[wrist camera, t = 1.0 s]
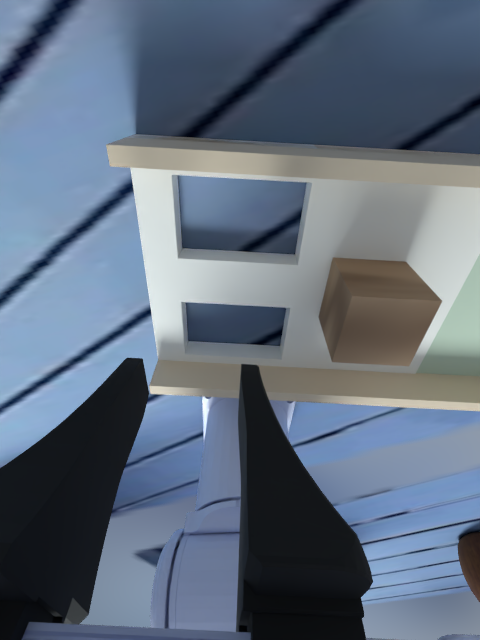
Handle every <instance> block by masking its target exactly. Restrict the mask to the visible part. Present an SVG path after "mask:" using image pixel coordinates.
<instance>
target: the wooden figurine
mask: <svg viewBox="0 0 480 640" xmlns="http://www.w3.org/2000/svg"><path fill="white" fill-rule="evenodd" d="M458 555H459V561H460V565H461V568H462V572H463V574H464V577H465V579H466V581H467V583H468V585H469V587H470V589H471V591H472V592H473V594H474V595H475V596H476V598H477V599H478V600H479V602H480V532H474V533H470V534H467V535H465V536H463V537H462V538H461V539H460V540H459V543H458Z"/></svg>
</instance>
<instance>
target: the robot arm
mask: <svg viewBox="0 0 480 640" xmlns="http://www.w3.org/2000/svg"><path fill="white" fill-rule="evenodd" d="M148 395H149V391H148V386H147V380H146V375H145V369H144V364H143V359H140V358H126V359H125V360H124V361H123V362H122V363H121V364H120V366H119V367H118V368H117V369H116V370H115V371H114V372H113V373H112V374H111V375H110V376H109V377H108V378H107V380H106V381H105V382H104V383H103V384H102V385H101V386H100V387H99V388H98V389H97V390H96V391H95V392H94V393H93V394H92V395H91V396H90V397H89V398H88V399H87V400H86V401H85V402H84V403H83V404H82V405H80V406H79V407H78V408H77V409H76V410H75V411H74V412H73V413H72V414H71V415H70V416H69V417H67V418H66V419H65V420H64V421H63V422H62V423H60V424H59V425H58V426H57V427H56V428H55V429H53V430H52V431H51V432H50V433H48V434H47V435H46V436H45V437H43V438H42V439H41V440H39V441H38V442H37V443H35V444H34V445H33V446H31V447H30V448H29V449H27V450H26V451H25V452H23V453H22V454H20V455H19V456H18V457H16V458H15V459H13V460H12V461H11V462H9V463H8V464H6V465H5V466H3V467H1V468H0V640H394V639H375V638H374V639H373V638H366V637H365V632H364V627H363V623H362V618H363V617H364V611H363V606H362V601H361V597H362V596H363V595H364V594H365V593H366V592H367V591H368V590H369V588H370V586H371V584H372V583H373V580H372V575H371V571H370V567H369V564H368V561H367V558H366V556H365V553H364V551H363V548H362V546H361V543H360V541H359V539H358V537H357V535H356V533H355V532H354V531H353V530H352V529H351V527H350V526H349V525H348V524H347V523H346V522H345V520H344V519H343V518H342V517H341V515H340V514H339V513H338V512H337V511H336V509H335V508H334V507H333V506H332V504H331V503H330V502H329V500H328V499H327V498H326V496H325V495H324V494H323V493H322V491H321V490H320V488H319V487H318V486H317V484H316V483H315V481H314V480H313V478H312V477H311V476H310V474H309V473H308V471H307V470H306V468H305V467H304V465H303V464H302V462H301V461H300V459H299V458H298V456H297V454H296V453H295V451H294V449H293V448H292V446H291V444H290V442H289V434H288V432H289V428H290V424H291V420H292V415H293V411H294V407H295V402H296V401H278V400H269V399H268V396H267V393H266V390H265V388H264V385H263V381H262V378H261V374H260V369H259V367H258V366H257V365H252V364H241V375H240V390H239V398H222V397H203V396H202V405H203V434H204V447H203V454H202V462H201V470H200V477H199V485H198V492H197V500H196V508H195V511H194V512H188V513H187V514H186V521H185V527H184V529H178V530H176V531H175V532H174V533H173V535H172V536H171V537H170V539H169V541H168V542H167V543H166V545H165V546H164V548H163V550H162V553H161V555H160V558H159V561H158V564H157V568H156V573H155V578H154V583H153V589H152V598H151V628H145V627H124V626H103V625H102V626H101V625H82V624H80V623H81V622H82V621H83V620H84V619H85V618H86V616H88V614H89V609H90V604H91V599H92V594H93V590H94V585H95V580H96V576H97V571H98V566H99V562H100V557H101V553H102V549H103V544H104V540H105V536H106V532H107V528H108V524H109V520H110V516H111V512H112V508H113V505H114V501H115V497H116V493H117V490H118V486H119V482H120V479H121V476H122V473H123V470H124V468H125V465H126V462H127V460H128V457H129V454H130V452H131V449H132V446H133V444H134V441H135V438H136V436H137V433H138V430H139V428H140V425H141V422H142V419H143V416H144V412H145V408H146V404H147V400H148ZM438 640H480V635H465V634H452V635H446V636H442V637H440V638H439V639H438Z"/></svg>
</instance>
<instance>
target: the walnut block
mask: <svg viewBox="0 0 480 640" xmlns="http://www.w3.org/2000/svg"><path fill="white" fill-rule="evenodd" d="M441 303H442V300H441V299H440V298H439V297H438V296H437V295H436V294H435V293H434V291H433V290H432V289H431V288H430V287H429V286H428V285H427V284H426V283H425V282H424V281H423V280H422V278H421V277H420V276H419V275H418V274H417V273H416V272H415V271H414V270H413V269H412V268H411V267H410V266H409V264H408V263H407V262H404V261H386V260H368V259H351V258H333V259H332V263H331V267H330V271H329V275H328V279H327V284H326V288H325V292H324V296H323V300H322V304H321V308H320V313H319V317H318V318H319V321H320V324H321V327H322V331H323V334H324V337H325V341H326V344H327V347H328V351H329V354H330V357H331V360H332V362H338V363H356V364H375V365H393V366H410V364H411V362H412V360H413V358H414V356H415V354H416V352H417V350H418V348H419V346H420V344H421V342H422V340H423V338H424V336H425V334H426V332H427V330H428V328H429V326H430V325H431V323H432V321H433V319H434V317H435V315H436V313H437V311H438V309H439V307H440V305H441Z"/></svg>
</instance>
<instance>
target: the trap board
mask: <svg viewBox="0 0 480 640" xmlns="http://www.w3.org/2000/svg"><path fill="white" fill-rule="evenodd" d="M106 147H107V152H108V158H109V163H110V166H111V167H128V168H131V175H132V182H133V189H134V195H135V202H136V209H137V216H138V223H139V230H140V237H141V244H142V251H143V258H144V265H145V272H146V279H147V286H148V292H149V299H150V306H151V313H152V320H153V327H154V334H155V341H156V348H157V355H158V362H157V365H156V368H155V371H154V374H153V377H152V380H151V382H150V385H149V387H150V392H151V394H165V395H184V396H203V397H222V398H239V390H240V375H241V364H252V365H257V366H258V367H259V369H260V374H261V378H262V381H263V385H264V388H265V390H266V393H267V396H268V399H269V400H278V401H297V402H316V403H335V404H354V405H372V406H391V407H410V408H429V409H448V410H467V411H480V154H466V153H449V152H432V151H415V150H398V149H381V148H363V147H346V146H329V145H312V144H295V143H278V142H261V141H244V140H227V139H210V138H193V137H176V136H159V135H142V134H135V135H132V136H129V137H126V138H123V139H121V140H118V141H115V142H112V143H109V144H107V145H106ZM178 175H185V176H203V177H220V178H237V179H255V180H272V181H289V182H306V183H307V184H306V190H305V196H304V202H303V208H302V214H301V221H300V227H299V233H298V239H297V245H296V251H295V254H278V253H261V252H243V251H225V250H207V249H189V248H182V235H181V220H180V204H179V188H178ZM333 258H351V259H368V260H386V261H404V262H407V263H408V264H409V266H410V267H411V268H412V269H413V270H414V271H415V272H416V273H417V274H418V275H419V276H420V277H421V278H422V280H423V281H424V282H425V283H426V284H427V285H428V286H429V287H430V288H431V289H432V290H433V291H434V293H435V294H436V295H437V296H438V297H439V298H440V299H441V300H442V303H441V305H440V307H439V309H438V311H437V313H436V315H435V317H434V319H433V321H432V323H431V325H430V326H429V328H428V330H427V332H426V334H425V336H424V338H423V340H422V342H421V344H420V346H419V348H418V350H417V352H416V354H415V356H414V358H413V360H412V362H411V364H410V366H393V365H375V364H356V363H338V362H332V360H331V357H330V354H329V351H328V347H327V344H326V341H325V337H324V334H323V331H322V327H321V324H320V321H319V318H318V317H319V313H320V308H321V304H322V300H323V296H324V292H325V288H326V284H327V279H328V275H329V271H330V267H331V263H332V259H333ZM186 302H191V303H210V304H228V305H246V306H264V307H282V308H286V313H285V319H284V325H283V331H282V337H281V343H280V346H271V345H252V344H234V343H215V342H197V341H188V329H187V313H186Z"/></svg>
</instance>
